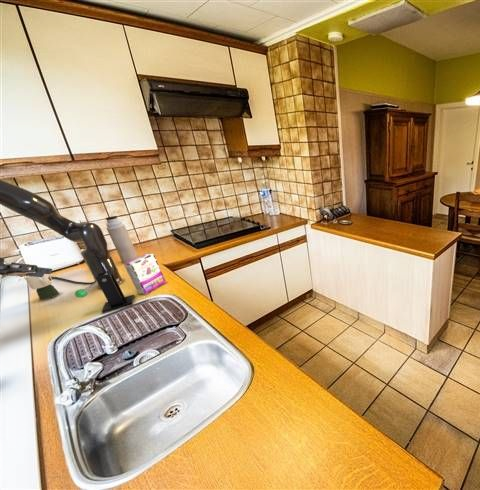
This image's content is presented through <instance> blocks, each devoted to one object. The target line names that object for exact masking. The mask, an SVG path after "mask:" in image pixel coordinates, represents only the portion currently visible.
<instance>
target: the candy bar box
mask: <svg viewBox="0 0 480 490" xmlns="http://www.w3.org/2000/svg"><path fill="white" fill-rule="evenodd" d="M123 267H124V268H125V270H126V272H127V274H128V276H129V277H130V280H131V282H132V284H133V286H134V288H135V289H136V292H137V293H138V295H148V294H149V293H151V292H152V291H155V290H156V289H158V288H159V287H160V286H162V285H164V284H166V283H167V281H166V279H165V277H164V273H163V272H162V269H161V268H160V265H159V263H158V261H157V259H156V256H155V254H154V253H144V254H142V255H139V256H138V258H136V259H134V260H131V261H129V262H127V263H123Z"/></svg>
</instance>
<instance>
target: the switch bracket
mask: <svg viewBox="0 0 480 490" xmlns="http://www.w3.org/2000/svg"><path fill="white" fill-rule="evenodd" d="M105 273H108V274H106V275H104V274H105ZM111 276H112V277H111ZM96 280H97V282H98V284H99V286H100V288H101V289H100V290H101V291H102V293H103V295H104V297H105V299H106V302H105V303H104V305H103V307H102V309H101V313H102V314H106V313H108V312H112V311H115V310H119V309H122V308H125V307H129V306H132V305H133V303H134V299H135V295H134V294H131V295H126V296H125V294H124V292H123V291H122V288H121V287H120V284H118V282H117V280H116V278H115V276H114V274H113V272H112V270H110V271H106V272H102V273H98V277H96Z"/></svg>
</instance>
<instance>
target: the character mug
mask: <svg viewBox="0 0 480 490" xmlns="http://www.w3.org/2000/svg"><path fill="white" fill-rule="evenodd" d="M51 277H52V276H51V274H44V276H43V277H32V276H26V277H23V278H24V279H25V281H26V283H27V284H28V286H29V287H30V288H31V289H32V290H35V291H36V294H37V296H38V299H39V300H41V301H43V300H48V299H52V298H54V297H57V296H58V295H59V294H60V292H59V291H58V290H57V288H56V287H55V286H54V285H53V283H54V280H53V278H51Z"/></svg>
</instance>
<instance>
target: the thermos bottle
mask: <svg viewBox="0 0 480 490" xmlns="http://www.w3.org/2000/svg"><path fill="white" fill-rule="evenodd" d="M105 220H106V231H107V233H108V235H109V237H110V239H111V241H112V243H113V245H114V247H115V250H116V252H117V254H118V256H119V258H120V260H121V262H122V264H125V263H127V262H129V261H131V260H134V259H136V258H138V257H139V255H138V253H137V250H136V248H135V246H134V244H133V242H132V239H131V237H130V235H129V232H128V230H127V227H126V226H125V224H123V222H122V221H121V220H119V219H118V215H117V216H115V215H114V216H113V215H112V216H108V217H106V218H105Z"/></svg>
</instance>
